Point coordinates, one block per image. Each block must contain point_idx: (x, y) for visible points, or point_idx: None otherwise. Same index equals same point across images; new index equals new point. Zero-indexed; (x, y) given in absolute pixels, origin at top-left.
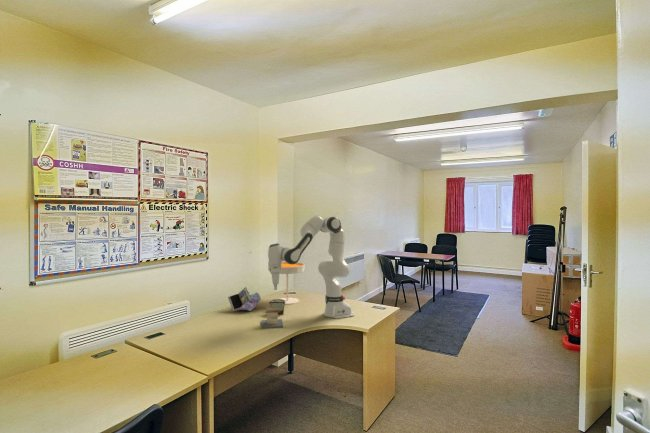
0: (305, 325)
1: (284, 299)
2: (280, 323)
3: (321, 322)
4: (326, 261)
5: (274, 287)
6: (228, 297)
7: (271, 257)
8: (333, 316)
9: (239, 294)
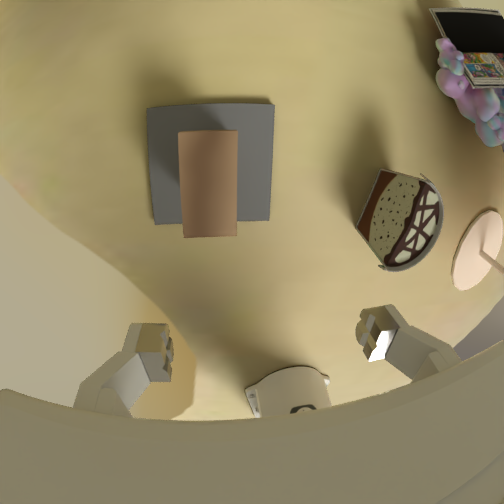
0: (179, 312)
1: (491, 243)
2: None
3: (211, 358)
4: None
5: (123, 353)
6: (497, 11)
7: None
8: (252, 389)
9: None
